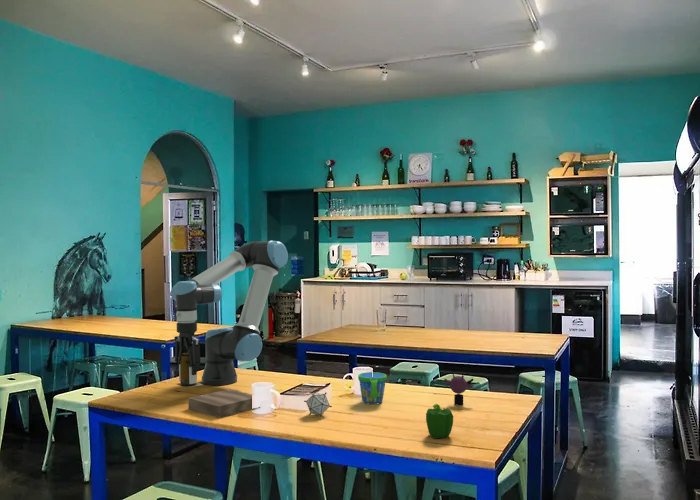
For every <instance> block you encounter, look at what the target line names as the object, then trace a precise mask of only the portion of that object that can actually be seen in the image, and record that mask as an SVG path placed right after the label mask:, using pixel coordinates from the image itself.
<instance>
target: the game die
mask: <svg viewBox="0 0 700 500" xmlns="http://www.w3.org/2000/svg"><path fill="white" fill-rule="evenodd" d="M313 392H314V393H312V395H311V396H309V397H308V399H306V400H303V402H304V403H306V406H307V407H308V410H309V414H308V415H309V416H311V414H312V415H317V416H320V418H321V417H323V416H322V415H323V414H324V413H325V412H326V411H327V410H328V409H329V408H332V407H333V406H332V405H330V403H329V400H328V398H327V396H326V395H327V394H328V392H324V393H320V392H319V393H318V392H316V390H314V391H313Z"/></svg>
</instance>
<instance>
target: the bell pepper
mask: <svg viewBox="0 0 700 500" xmlns="http://www.w3.org/2000/svg"><path fill="white" fill-rule="evenodd" d="M432 407H433V408H428V409H427V410H426V413H425V421H426V426H427V430H428V434H429V435H430V437H432V438H434V439H442V438H448V437H449V436H450V434H451V433H452V428H453V425H454V415H453V413H452V411H451V409H450V408H444V409H442V408H441V405H440V404H438V403H435V404H433V405H432Z"/></svg>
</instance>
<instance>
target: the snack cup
mask: <svg viewBox="0 0 700 500" xmlns="http://www.w3.org/2000/svg"><path fill="white" fill-rule="evenodd" d="M357 379H358V381H359V386H360V394H361V401H362V402H363V403H364V404H367V403H369V404H368V405H376V404H377V403H379V404H382V403H383V401H384V394H385V389H386V388H385V387H386V381H387V374H386V373H382V372H377V371H375V372H373V377H372V372H371V371H369V372H368V371H367V372H362V373H359V374H358V378H357ZM381 402H382V403H381ZM377 405H378V404H377Z"/></svg>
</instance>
